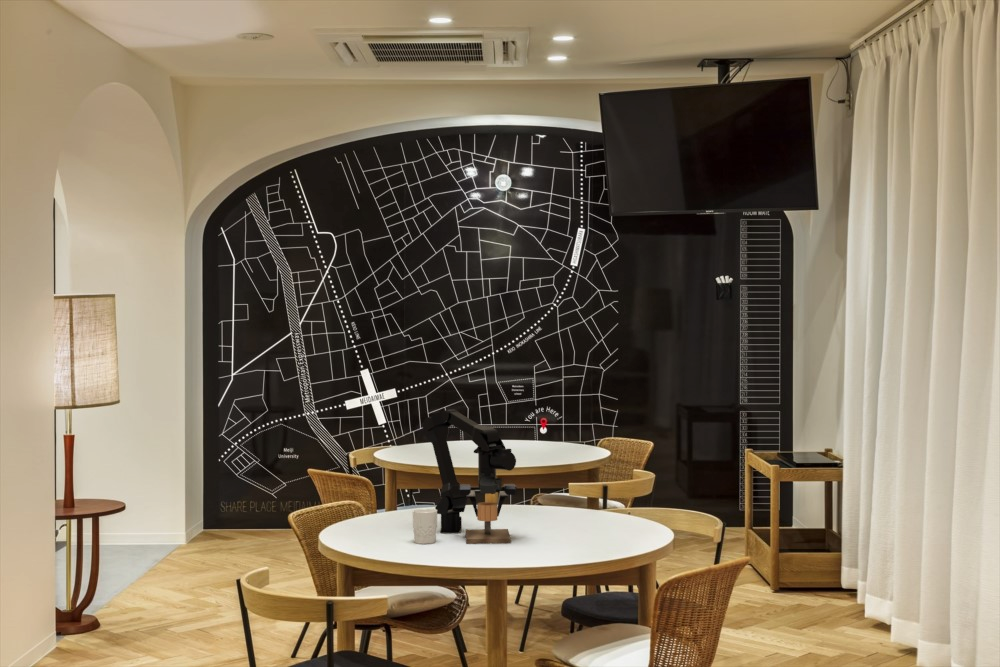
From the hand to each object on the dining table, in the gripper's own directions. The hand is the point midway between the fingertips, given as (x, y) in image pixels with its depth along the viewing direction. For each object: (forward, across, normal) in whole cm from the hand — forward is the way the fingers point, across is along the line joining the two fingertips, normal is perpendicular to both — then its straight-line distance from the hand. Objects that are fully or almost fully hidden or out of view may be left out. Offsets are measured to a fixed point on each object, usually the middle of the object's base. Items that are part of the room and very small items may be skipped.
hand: (487, 516), depth 311 cm
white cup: (+7, -20, -4) cm, 22 cm away
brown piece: (+7, 0, 0) cm, 7 cm away
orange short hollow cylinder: (+1, 0, 0) cm, 1 cm away
